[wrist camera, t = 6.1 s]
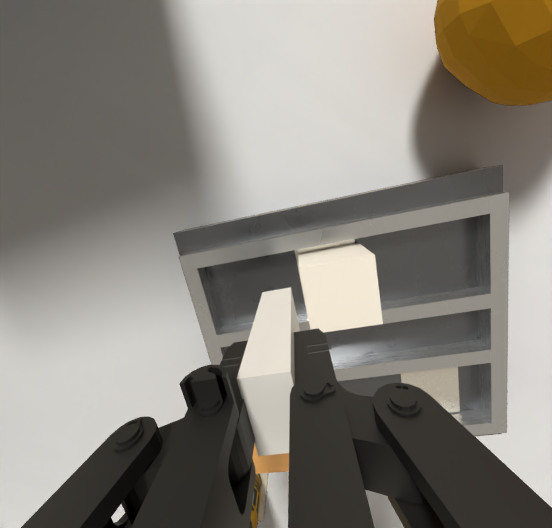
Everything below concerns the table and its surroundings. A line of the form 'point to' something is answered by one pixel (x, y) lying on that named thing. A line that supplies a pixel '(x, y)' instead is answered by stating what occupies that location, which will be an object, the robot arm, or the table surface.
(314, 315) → the block
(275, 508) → the table surface
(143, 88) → the table surface
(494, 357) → the grey slotted tray
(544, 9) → the apple
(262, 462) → the fader orange
